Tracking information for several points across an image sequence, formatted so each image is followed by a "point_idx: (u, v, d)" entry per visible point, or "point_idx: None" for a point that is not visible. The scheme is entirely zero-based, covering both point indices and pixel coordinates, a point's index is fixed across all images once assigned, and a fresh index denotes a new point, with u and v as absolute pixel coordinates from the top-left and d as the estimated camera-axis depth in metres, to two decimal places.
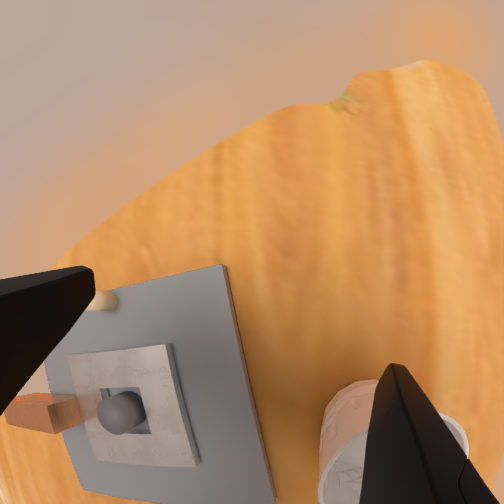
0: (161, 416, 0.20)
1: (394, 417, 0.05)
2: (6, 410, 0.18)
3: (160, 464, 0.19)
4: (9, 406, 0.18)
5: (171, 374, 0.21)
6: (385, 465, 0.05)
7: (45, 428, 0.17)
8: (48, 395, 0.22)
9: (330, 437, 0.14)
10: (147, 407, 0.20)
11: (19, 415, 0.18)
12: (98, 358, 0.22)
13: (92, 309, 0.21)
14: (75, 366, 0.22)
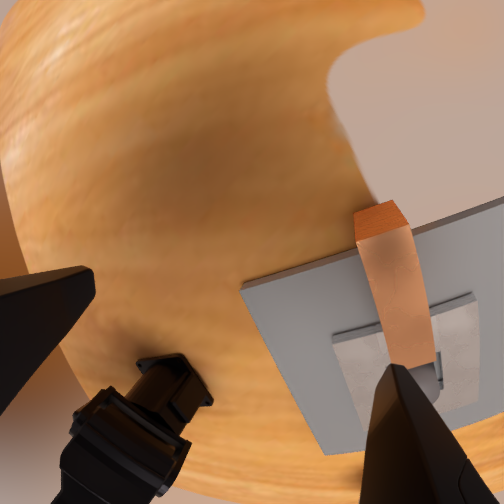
0: None
1: (394, 417, 0.05)
2: (391, 245, 0.12)
3: (358, 409, 0.20)
4: (406, 259, 0.12)
5: (453, 408, 0.18)
6: (385, 465, 0.05)
7: (396, 356, 0.14)
8: None
9: None
10: None
11: (398, 293, 0.12)
12: (473, 345, 0.16)
13: None
14: (464, 314, 0.16)
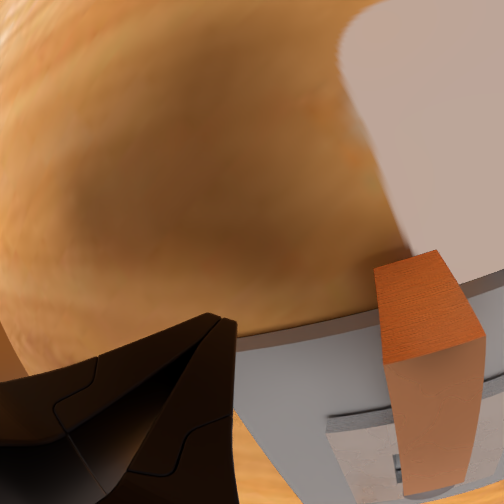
0: None
1: None
2: (446, 369, 0.05)
3: (352, 488, 0.14)
4: (464, 387, 0.05)
5: (464, 483, 0.12)
6: None
7: (412, 484, 0.07)
8: None
9: None
10: None
11: (437, 427, 0.06)
12: None
13: None
14: (503, 399, 0.09)
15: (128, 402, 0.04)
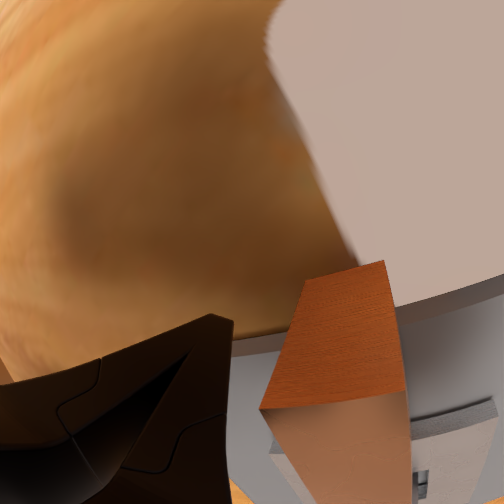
0: None
1: None
2: (348, 424, 0.04)
3: None
4: (381, 446, 0.04)
5: None
6: None
7: None
8: None
9: None
10: None
11: (354, 481, 0.05)
12: (477, 461, 0.09)
13: None
14: (474, 433, 0.08)
15: (132, 404, 0.04)
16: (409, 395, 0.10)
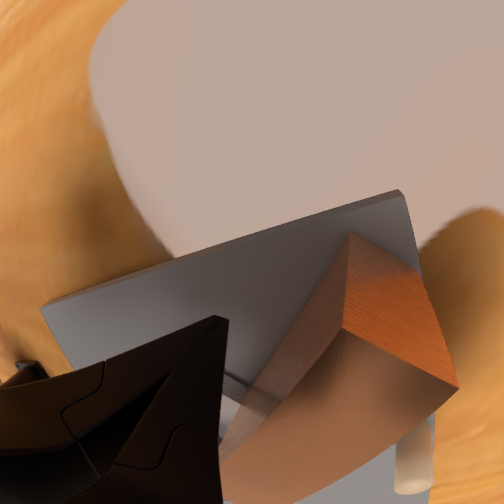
0: None
1: None
2: (393, 392, 0.04)
3: None
4: (382, 428, 0.04)
5: None
6: None
7: None
8: None
9: None
10: None
11: (308, 450, 0.05)
12: None
13: (395, 490, 0.08)
14: None
15: (137, 407, 0.04)
16: None
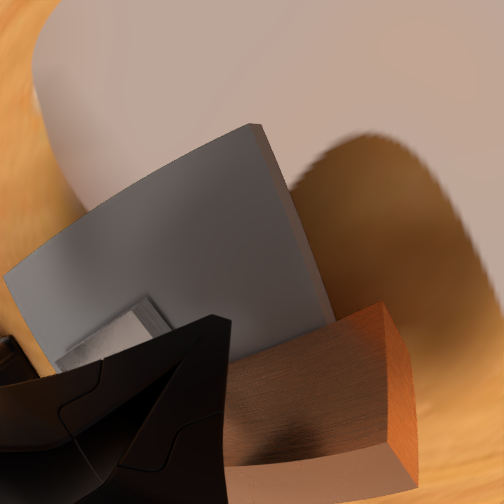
0: None
1: None
2: (379, 479, 0.05)
3: (71, 353, 0.14)
4: (352, 493, 0.05)
5: None
6: None
7: None
8: None
9: None
10: None
11: (283, 487, 0.06)
12: None
13: None
14: None
15: (134, 405, 0.04)
16: (107, 293, 0.13)
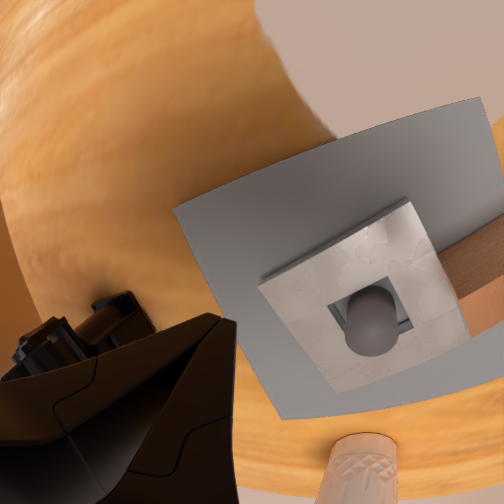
0: (320, 332, 0.18)
1: None
2: None
3: (301, 266, 0.17)
4: None
5: (322, 373, 0.20)
6: None
7: (481, 294, 0.10)
8: None
9: (379, 498, 0.17)
10: (340, 335, 0.18)
11: None
12: (418, 358, 0.17)
13: None
14: (456, 333, 0.15)
15: (128, 402, 0.04)
16: (361, 199, 0.16)
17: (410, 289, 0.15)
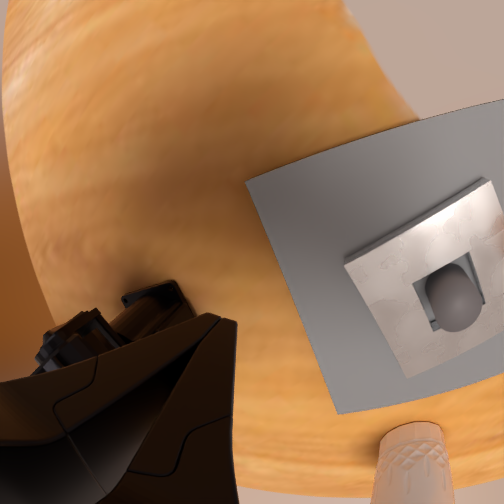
0: (401, 312, 0.17)
1: None
2: None
3: (392, 241, 0.16)
4: None
5: (396, 357, 0.18)
6: None
7: None
8: None
9: (441, 483, 0.15)
10: (420, 314, 0.17)
11: None
12: (485, 335, 0.15)
13: None
14: None
15: (128, 402, 0.04)
16: (445, 177, 0.14)
17: (486, 265, 0.14)
